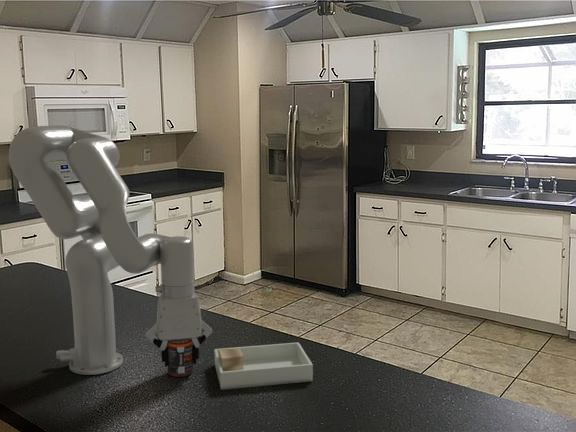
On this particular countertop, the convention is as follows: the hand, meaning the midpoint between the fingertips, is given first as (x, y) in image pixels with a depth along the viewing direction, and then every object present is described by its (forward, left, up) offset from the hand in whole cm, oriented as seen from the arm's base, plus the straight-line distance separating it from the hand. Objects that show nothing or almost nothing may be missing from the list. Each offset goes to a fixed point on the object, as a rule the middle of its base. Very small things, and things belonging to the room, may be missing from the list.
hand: (180, 362), depth 147 cm
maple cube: (+12, -4, -2) cm, 13 cm away
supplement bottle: (0, 0, -3) cm, 3 cm away
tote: (+19, -4, -3) cm, 20 cm away
